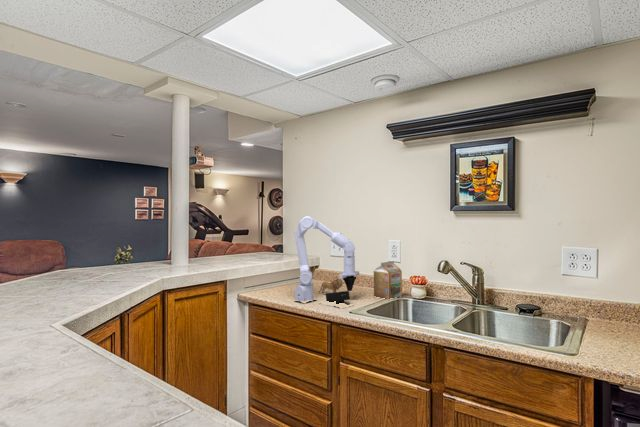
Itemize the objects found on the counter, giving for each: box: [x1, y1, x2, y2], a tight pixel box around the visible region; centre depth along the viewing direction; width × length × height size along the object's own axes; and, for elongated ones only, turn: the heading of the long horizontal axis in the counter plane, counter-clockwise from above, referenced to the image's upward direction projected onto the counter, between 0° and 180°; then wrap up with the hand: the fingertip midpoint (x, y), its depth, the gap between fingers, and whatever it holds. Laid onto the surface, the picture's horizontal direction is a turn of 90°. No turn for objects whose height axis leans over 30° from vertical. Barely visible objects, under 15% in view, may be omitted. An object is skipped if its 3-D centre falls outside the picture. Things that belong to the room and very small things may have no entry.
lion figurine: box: [318, 278, 343, 294], centre depth 212 cm, size 15×5×9 cm, turn 69°
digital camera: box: [325, 290, 351, 304], centre depth 191 cm, size 10×5×7 cm
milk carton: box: [373, 260, 403, 300], centre depth 203 cm, size 11×11×19 cm
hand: (349, 290), depth 196 cm, fingers closed
